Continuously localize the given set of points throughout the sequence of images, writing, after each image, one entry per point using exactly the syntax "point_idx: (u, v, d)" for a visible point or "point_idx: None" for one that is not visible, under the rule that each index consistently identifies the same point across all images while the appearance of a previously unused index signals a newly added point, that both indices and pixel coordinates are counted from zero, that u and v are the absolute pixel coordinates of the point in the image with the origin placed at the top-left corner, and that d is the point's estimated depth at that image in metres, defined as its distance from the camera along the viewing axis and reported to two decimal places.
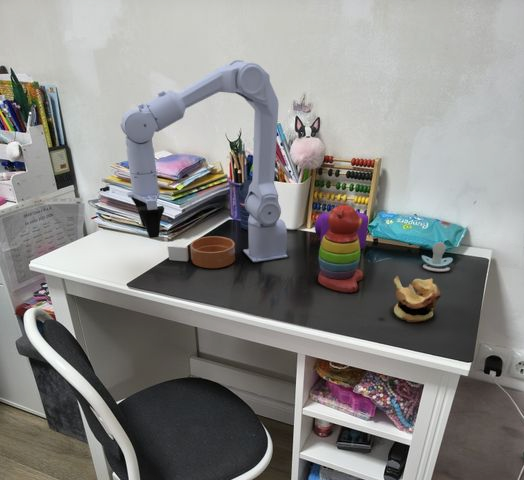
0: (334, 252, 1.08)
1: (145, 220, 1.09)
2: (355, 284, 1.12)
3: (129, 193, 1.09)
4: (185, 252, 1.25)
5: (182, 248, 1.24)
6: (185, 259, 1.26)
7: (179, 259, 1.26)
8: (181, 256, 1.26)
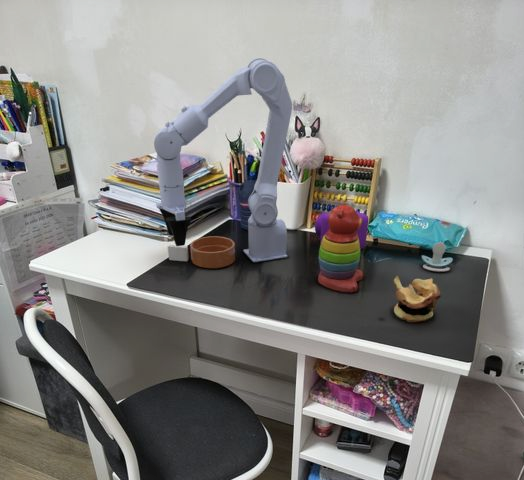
0: (334, 252, 1.08)
1: (173, 230, 1.17)
2: (355, 284, 1.12)
3: (158, 205, 1.18)
4: (185, 252, 1.25)
5: (182, 248, 1.24)
6: (185, 259, 1.26)
7: (179, 259, 1.26)
8: (181, 256, 1.26)
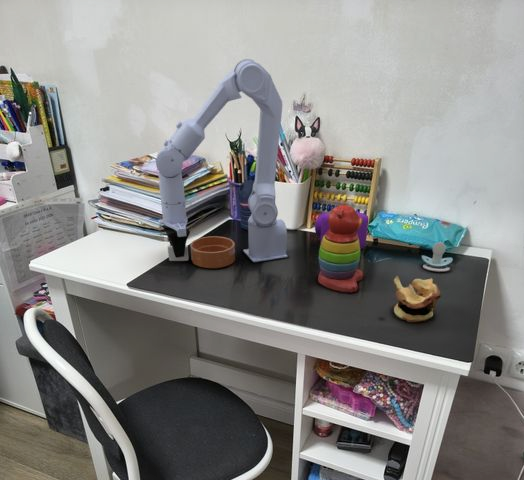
0: (334, 252, 1.08)
1: (172, 242, 1.21)
2: (355, 284, 1.12)
3: (160, 221, 1.20)
4: (186, 251, 1.25)
5: None
6: (186, 258, 1.26)
7: (180, 259, 1.26)
8: None
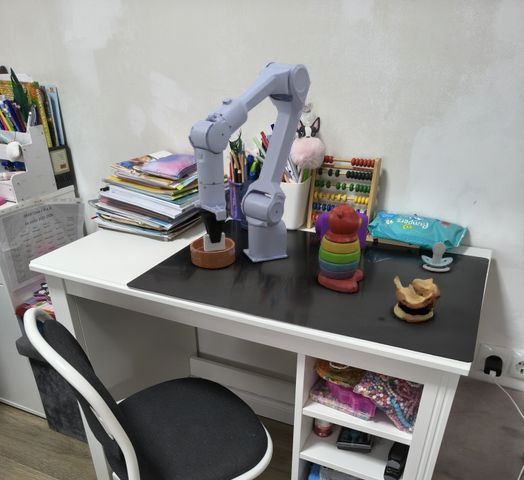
0: (334, 252, 1.08)
1: (209, 226, 1.10)
2: (355, 284, 1.12)
3: (196, 203, 1.09)
4: (224, 239, 1.15)
5: None
6: (223, 247, 1.16)
7: (217, 248, 1.16)
8: (219, 244, 1.15)
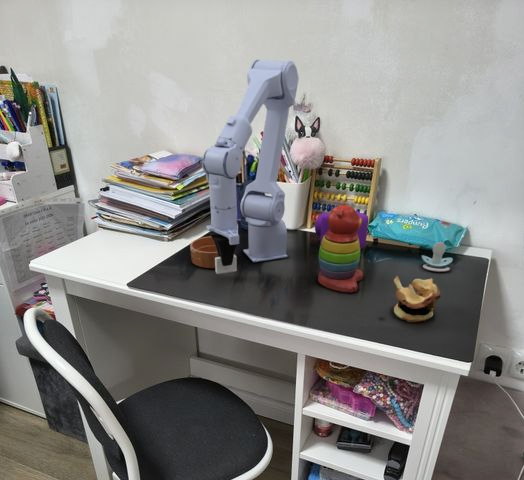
0: (334, 252, 1.08)
1: (221, 249, 1.11)
2: (355, 284, 1.12)
3: (209, 227, 1.09)
4: (235, 261, 1.16)
5: None
6: (234, 269, 1.17)
7: (228, 270, 1.16)
8: (230, 267, 1.16)
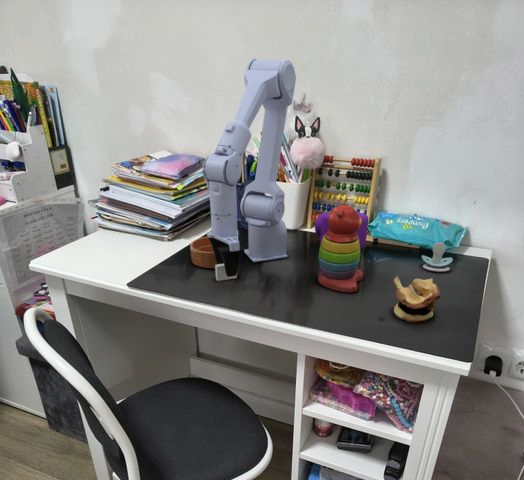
0: (334, 252, 1.08)
1: (225, 260, 1.09)
2: (355, 284, 1.12)
3: (209, 233, 1.10)
4: None
5: None
6: (235, 276, 1.18)
7: (228, 277, 1.17)
8: None
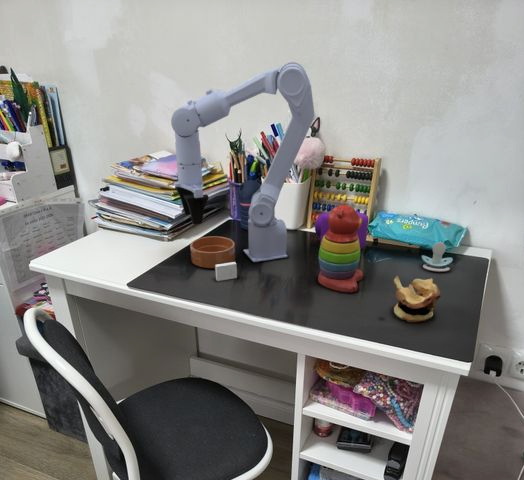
0: (334, 252, 1.08)
1: (191, 207, 1.18)
2: (355, 284, 1.12)
3: (176, 183, 1.19)
4: (235, 268, 1.17)
5: (232, 265, 1.16)
6: (235, 276, 1.18)
7: (228, 277, 1.17)
8: (231, 274, 1.17)
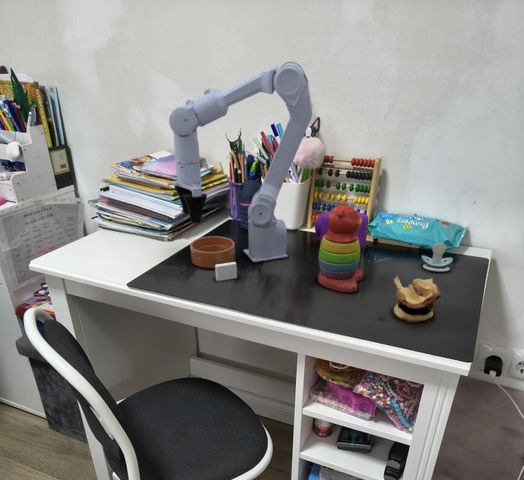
0: (334, 252, 1.08)
1: (189, 206, 1.19)
2: (355, 284, 1.12)
3: (174, 182, 1.19)
4: (235, 268, 1.17)
5: (232, 265, 1.16)
6: (235, 276, 1.18)
7: (228, 277, 1.17)
8: (231, 274, 1.17)
